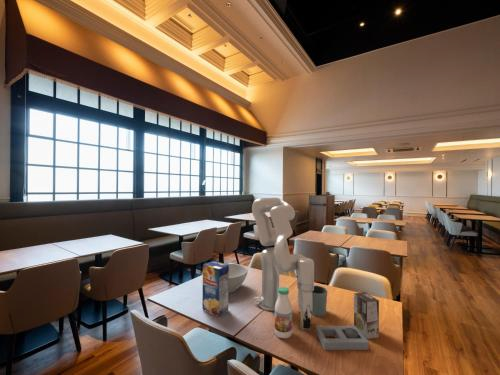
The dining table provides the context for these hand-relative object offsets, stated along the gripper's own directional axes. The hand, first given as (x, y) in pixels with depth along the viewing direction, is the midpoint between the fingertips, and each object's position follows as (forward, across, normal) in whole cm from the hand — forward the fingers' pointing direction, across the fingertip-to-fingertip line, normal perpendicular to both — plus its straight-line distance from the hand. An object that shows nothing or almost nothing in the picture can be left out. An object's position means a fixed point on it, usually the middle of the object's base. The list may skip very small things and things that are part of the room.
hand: (305, 324), depth 107 cm
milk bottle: (+2, +4, -11) cm, 12 cm away
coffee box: (+2, +3, +27) cm, 27 cm away
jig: (+2, +9, +13) cm, 16 cm away
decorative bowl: (+2, -42, -40) cm, 58 cm away
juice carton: (+2, -16, -44) cm, 47 cm away
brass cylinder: (+2, 0, 0) cm, 2 cm away
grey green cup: (+2, -14, +10) cm, 17 cm away
